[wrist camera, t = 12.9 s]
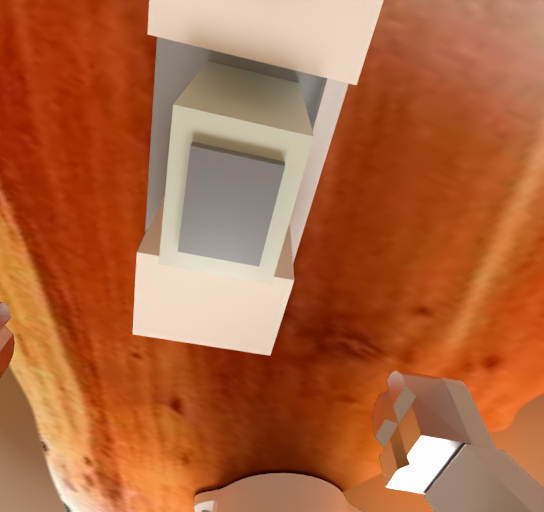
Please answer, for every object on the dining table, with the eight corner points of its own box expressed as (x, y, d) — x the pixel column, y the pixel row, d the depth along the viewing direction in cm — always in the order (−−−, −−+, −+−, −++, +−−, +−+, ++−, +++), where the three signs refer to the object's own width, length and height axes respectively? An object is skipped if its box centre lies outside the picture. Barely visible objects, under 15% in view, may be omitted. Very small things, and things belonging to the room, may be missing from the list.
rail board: (279, 293, 29) (281, 380, 22) (147, 270, 28) (111, 355, 21) (403, -122, 17) (482, -182, 10) (180, -192, 16) (119, -306, 9)
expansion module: (271, 195, 23) (271, 290, 16) (192, 179, 22) (156, 270, 15) (299, 83, 20) (315, 140, 13) (207, 60, 19) (170, 107, 12)
